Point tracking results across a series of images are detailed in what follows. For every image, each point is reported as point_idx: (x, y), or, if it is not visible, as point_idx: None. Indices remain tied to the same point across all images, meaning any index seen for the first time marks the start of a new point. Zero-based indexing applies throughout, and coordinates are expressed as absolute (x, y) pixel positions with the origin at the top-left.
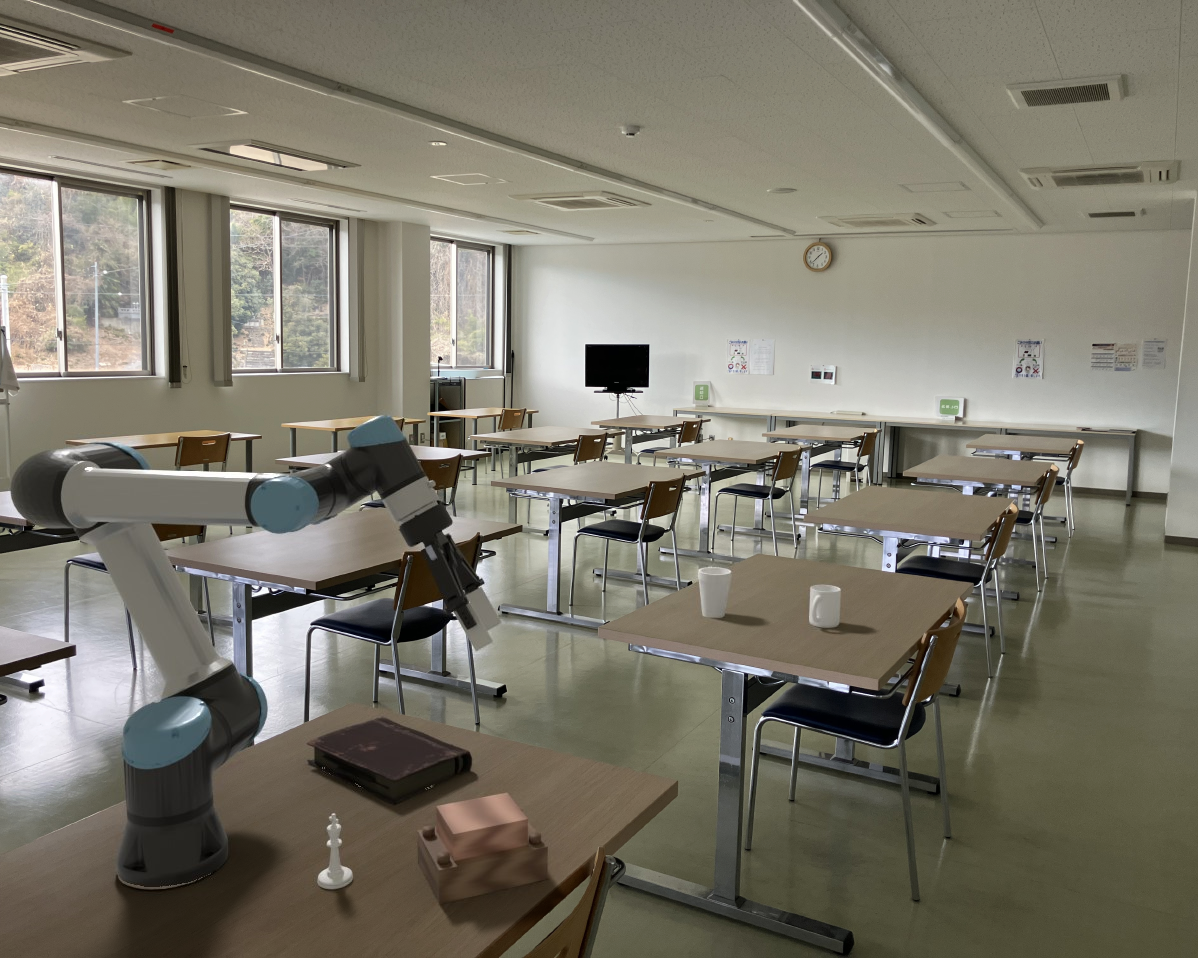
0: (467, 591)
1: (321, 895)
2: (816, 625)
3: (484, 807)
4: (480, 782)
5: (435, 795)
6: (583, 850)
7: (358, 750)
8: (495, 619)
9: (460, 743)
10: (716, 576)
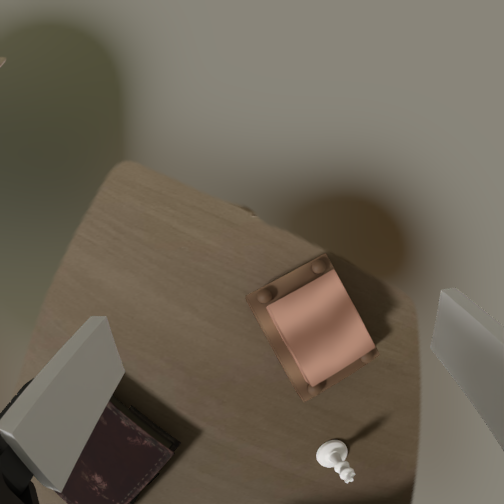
0: (30, 485)
1: (356, 452)
2: None
3: (311, 327)
4: None
5: (152, 404)
6: (260, 230)
7: (107, 490)
8: (99, 339)
9: None
10: None
